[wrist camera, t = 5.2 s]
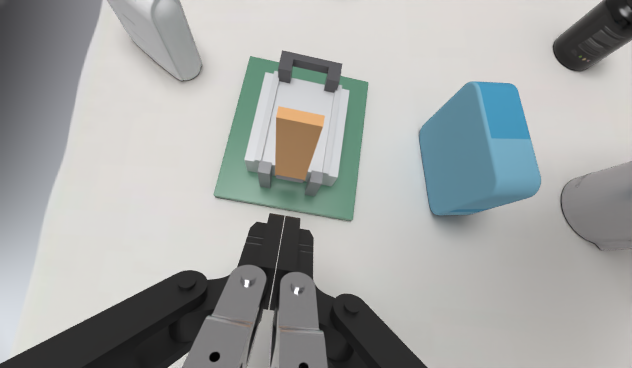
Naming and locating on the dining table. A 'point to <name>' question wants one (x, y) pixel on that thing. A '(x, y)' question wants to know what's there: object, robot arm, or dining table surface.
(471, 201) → the blue rounded block
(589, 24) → the supplement bottle
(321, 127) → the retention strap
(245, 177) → the processor board
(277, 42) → the dining table surface
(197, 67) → the photo printer
